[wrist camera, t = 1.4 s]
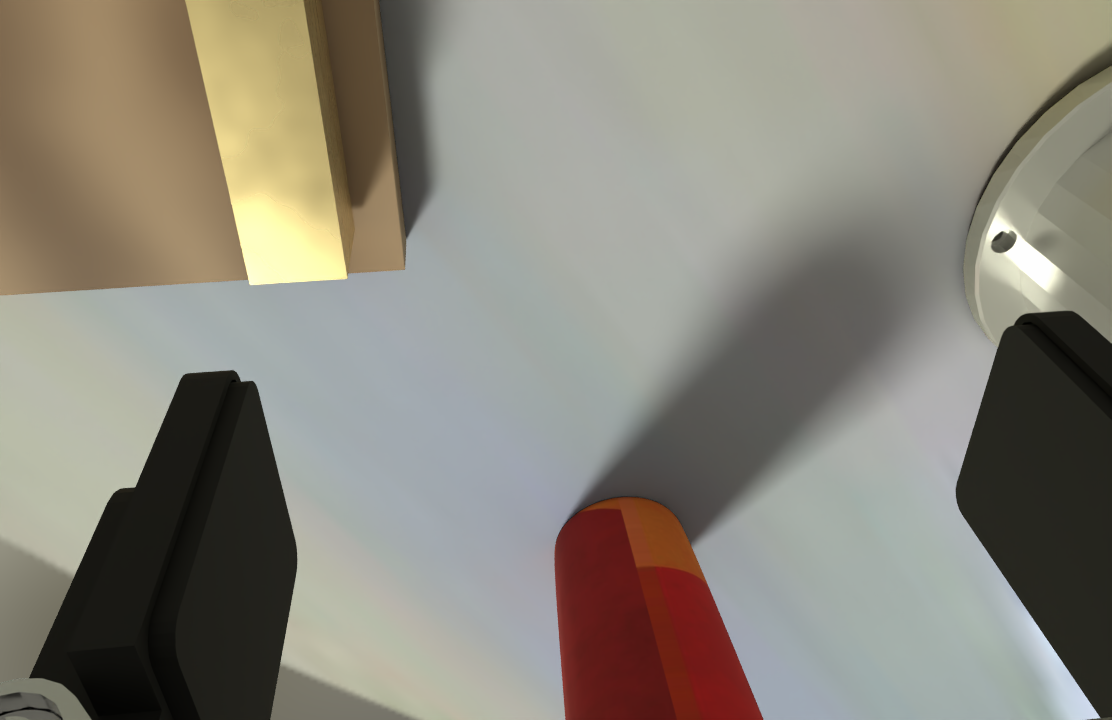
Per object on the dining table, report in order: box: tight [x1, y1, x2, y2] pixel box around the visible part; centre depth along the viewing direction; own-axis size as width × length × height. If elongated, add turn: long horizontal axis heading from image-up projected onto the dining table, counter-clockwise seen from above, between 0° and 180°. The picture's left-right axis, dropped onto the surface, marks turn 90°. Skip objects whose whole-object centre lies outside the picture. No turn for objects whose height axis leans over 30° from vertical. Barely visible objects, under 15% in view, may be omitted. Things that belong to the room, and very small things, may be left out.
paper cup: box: [555, 497, 763, 720], centre depth 33 cm, size 8×8×14 cm
